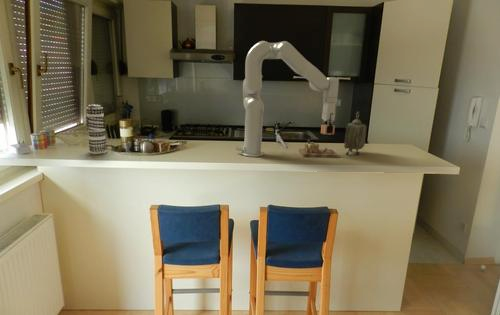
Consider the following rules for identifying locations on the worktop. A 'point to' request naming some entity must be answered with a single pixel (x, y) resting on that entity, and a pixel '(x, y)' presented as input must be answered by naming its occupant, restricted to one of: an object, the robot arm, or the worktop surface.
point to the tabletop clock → (355, 135)
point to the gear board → (317, 151)
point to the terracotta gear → (324, 129)
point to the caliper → (280, 140)
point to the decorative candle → (96, 129)
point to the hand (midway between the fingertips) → (327, 131)
